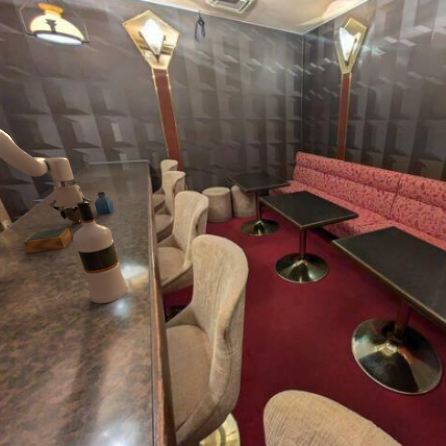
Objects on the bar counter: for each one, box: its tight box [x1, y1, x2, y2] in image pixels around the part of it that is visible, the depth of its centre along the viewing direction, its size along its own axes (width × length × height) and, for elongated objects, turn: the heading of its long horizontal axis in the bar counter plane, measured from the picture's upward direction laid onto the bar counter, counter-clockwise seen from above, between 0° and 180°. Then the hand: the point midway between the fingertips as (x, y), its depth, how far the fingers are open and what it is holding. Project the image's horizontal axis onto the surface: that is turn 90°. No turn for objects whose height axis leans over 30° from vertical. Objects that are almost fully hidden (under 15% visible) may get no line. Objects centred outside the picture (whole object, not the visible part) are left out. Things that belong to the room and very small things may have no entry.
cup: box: [63, 206, 83, 225], centre depth 127 cm, size 8×7×8 cm
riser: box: [23, 227, 73, 254], centre depth 104 cm, size 11×11×5 cm
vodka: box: [72, 201, 129, 304], centre depth 71 cm, size 9×9×30 cm
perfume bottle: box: [94, 191, 115, 215], centre depth 143 cm, size 6×6×12 cm
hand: (75, 217), depth 127 cm, fingers closed on cup, 7 cm apart
